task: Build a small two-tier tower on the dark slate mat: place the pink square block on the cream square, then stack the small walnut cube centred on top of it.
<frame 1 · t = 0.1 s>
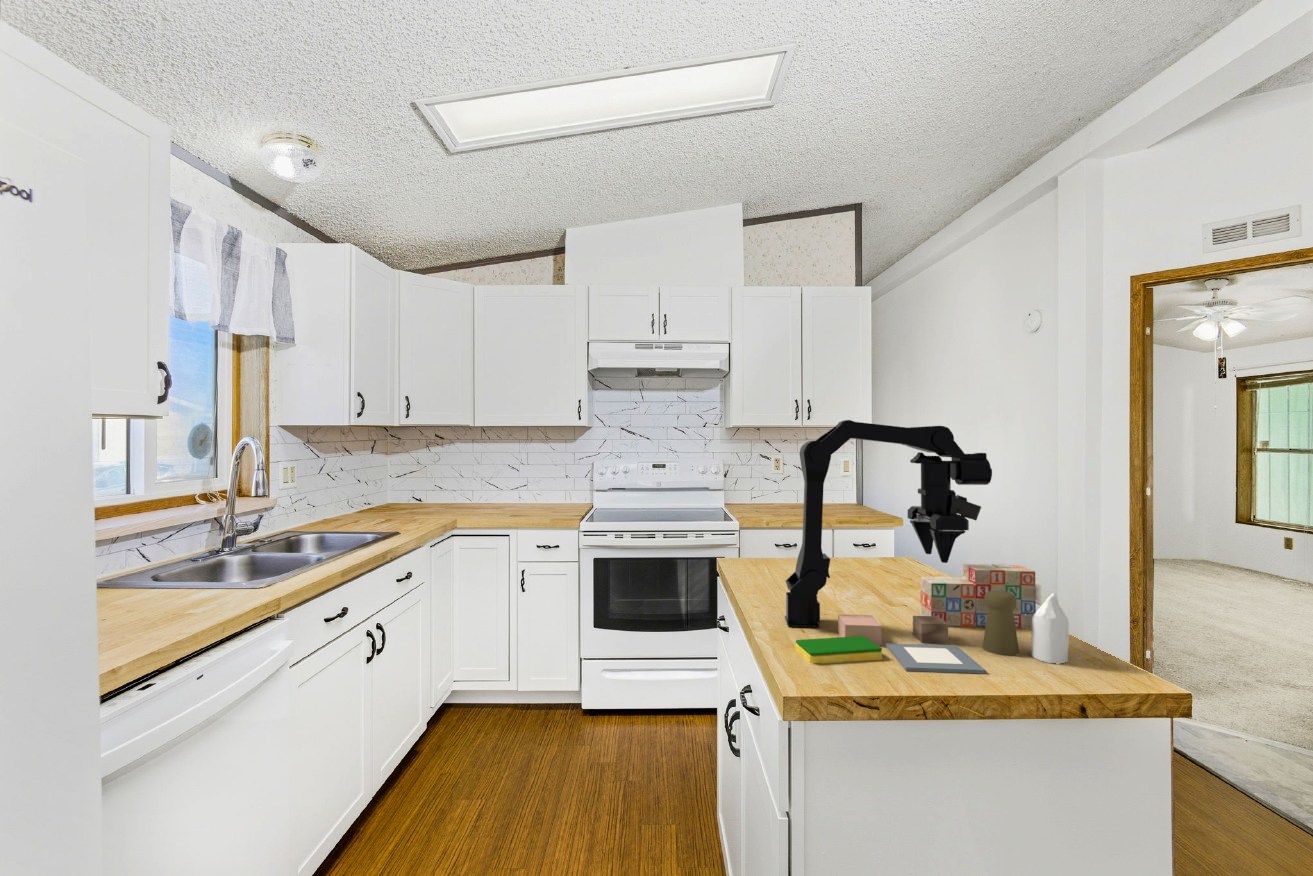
hand: (936, 558, 122), 15 cm above the table, tool pointing down, fingers open, 9 cm apart
stack of blocks: (976, 624, 125), on the table
walnut cube: (930, 639, 114), on the table
pink square block: (859, 640, 115), on the table
dish sponge: (838, 657, 106), on the table
white pointed cylinder: (1050, 659, 104), on the table
cork: (1000, 651, 108), on the table
slate mat: (932, 659, 104), on the table
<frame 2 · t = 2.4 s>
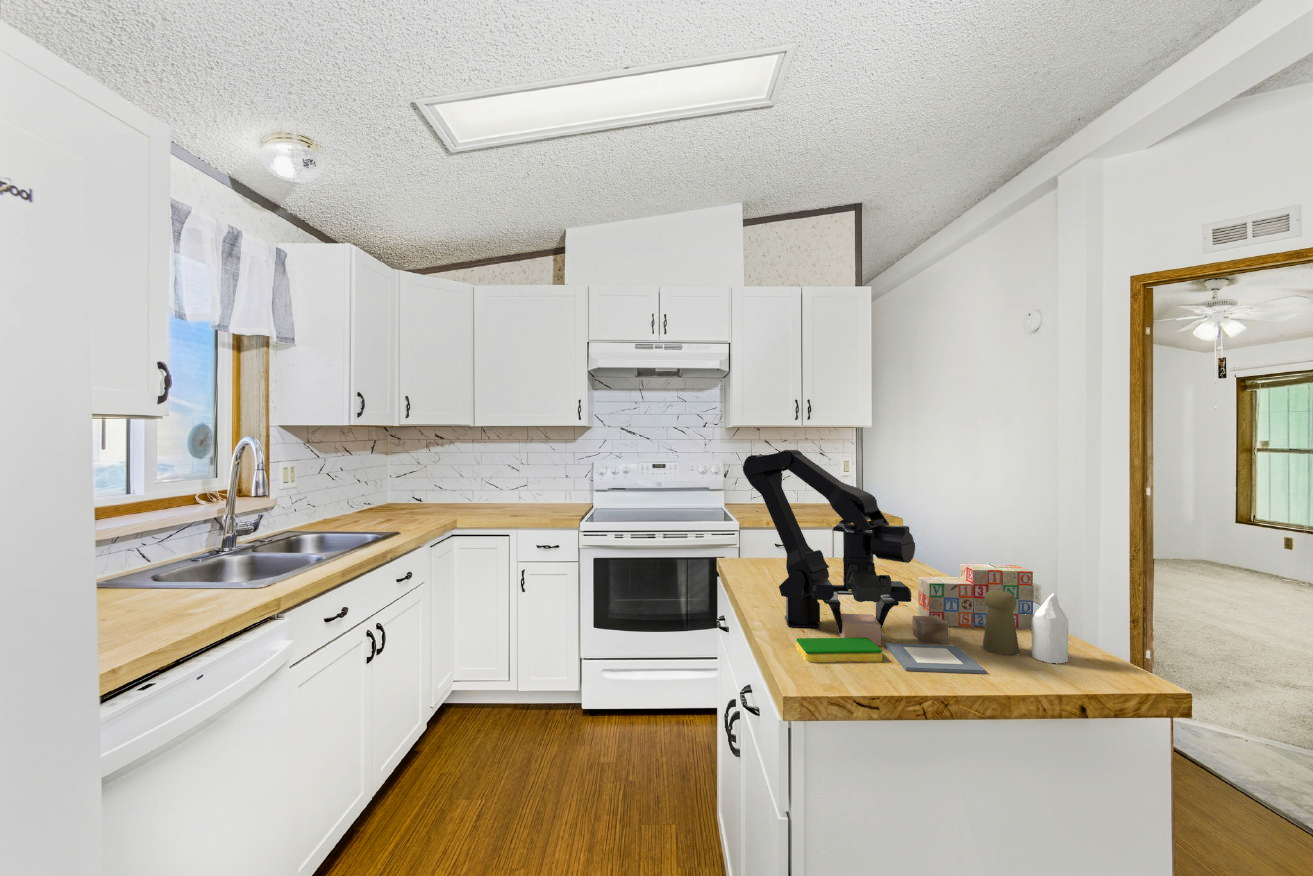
hand: (859, 633, 115), 1 cm above the table, tool pointing down, fingers closed on pink square block, 7 cm apart
pink square block: (859, 639, 115), on the table, touching gripper
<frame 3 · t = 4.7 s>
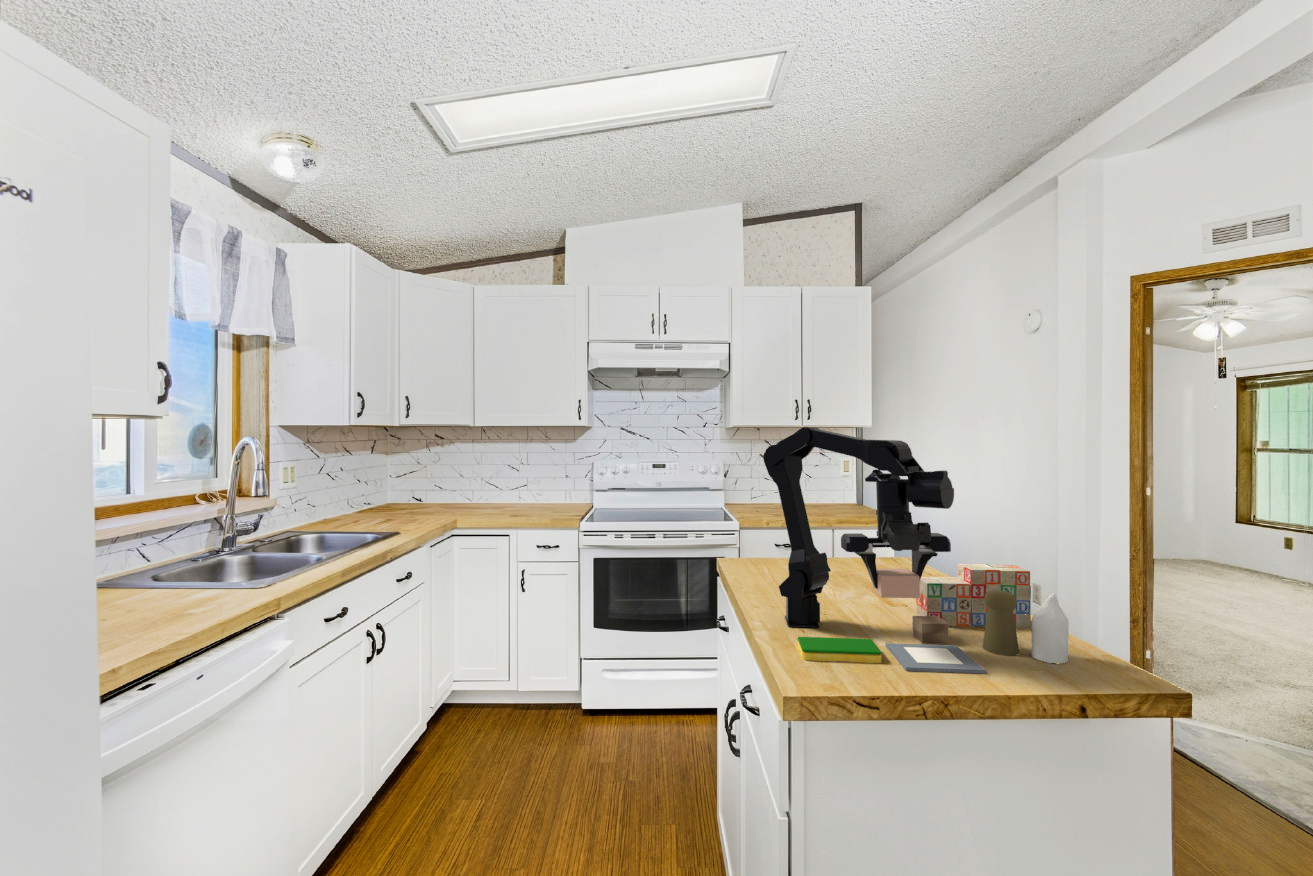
hand: (895, 588, 109), 12 cm above the table, tool pointing down, fingers closed on pink square block, 7 cm apart
pink square block: (895, 593, 109), point 11 cm above the table, touching gripper
when the fingers open (3 cm above the table, at t = 7.1 s): pink square block drops 1 cm, resting on slate mat.
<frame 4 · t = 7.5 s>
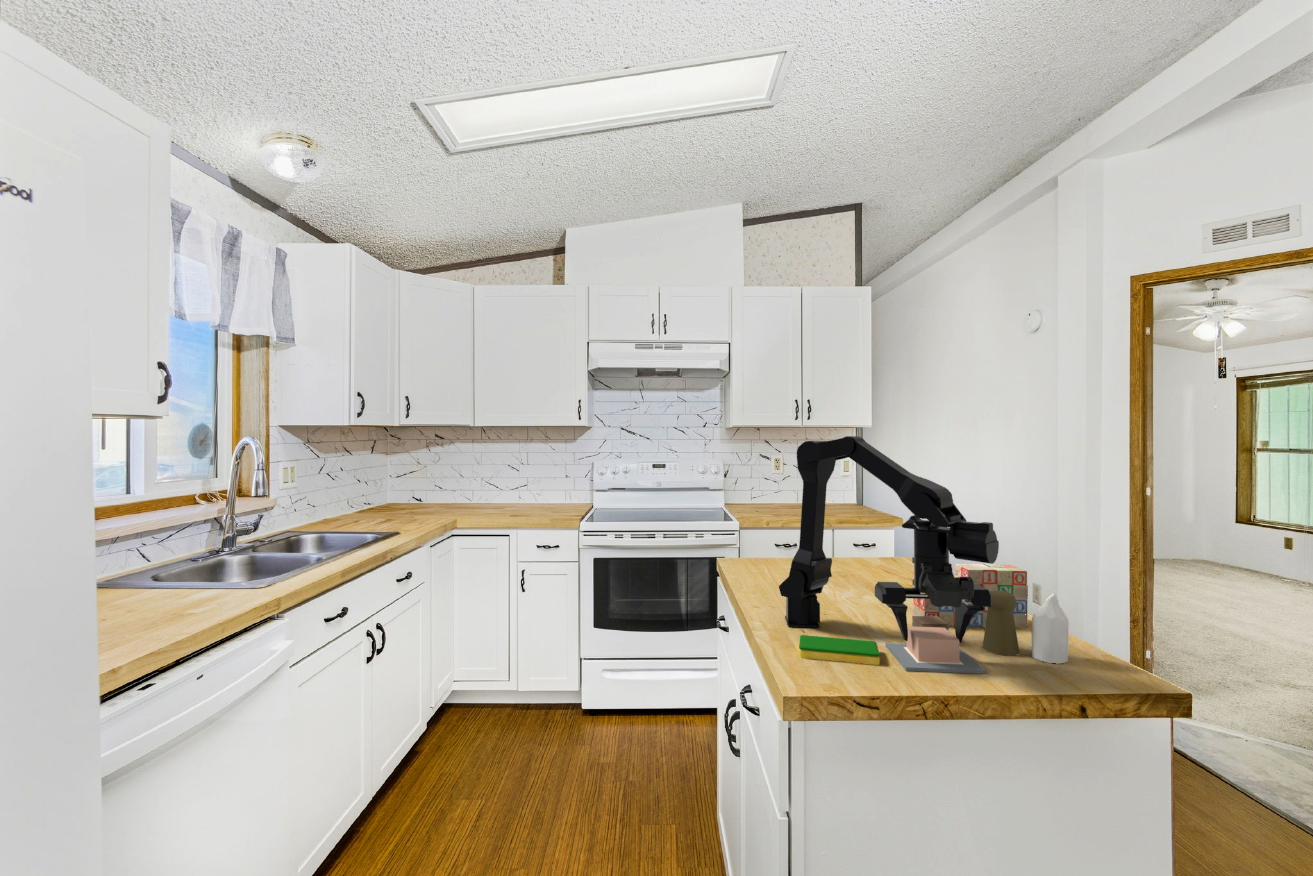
hand: (932, 641, 104), 3 cm above the table, tool pointing down, fingers open, 9 cm apart
pink square block: (932, 655, 104), point 1 cm above the table, touching slate mat
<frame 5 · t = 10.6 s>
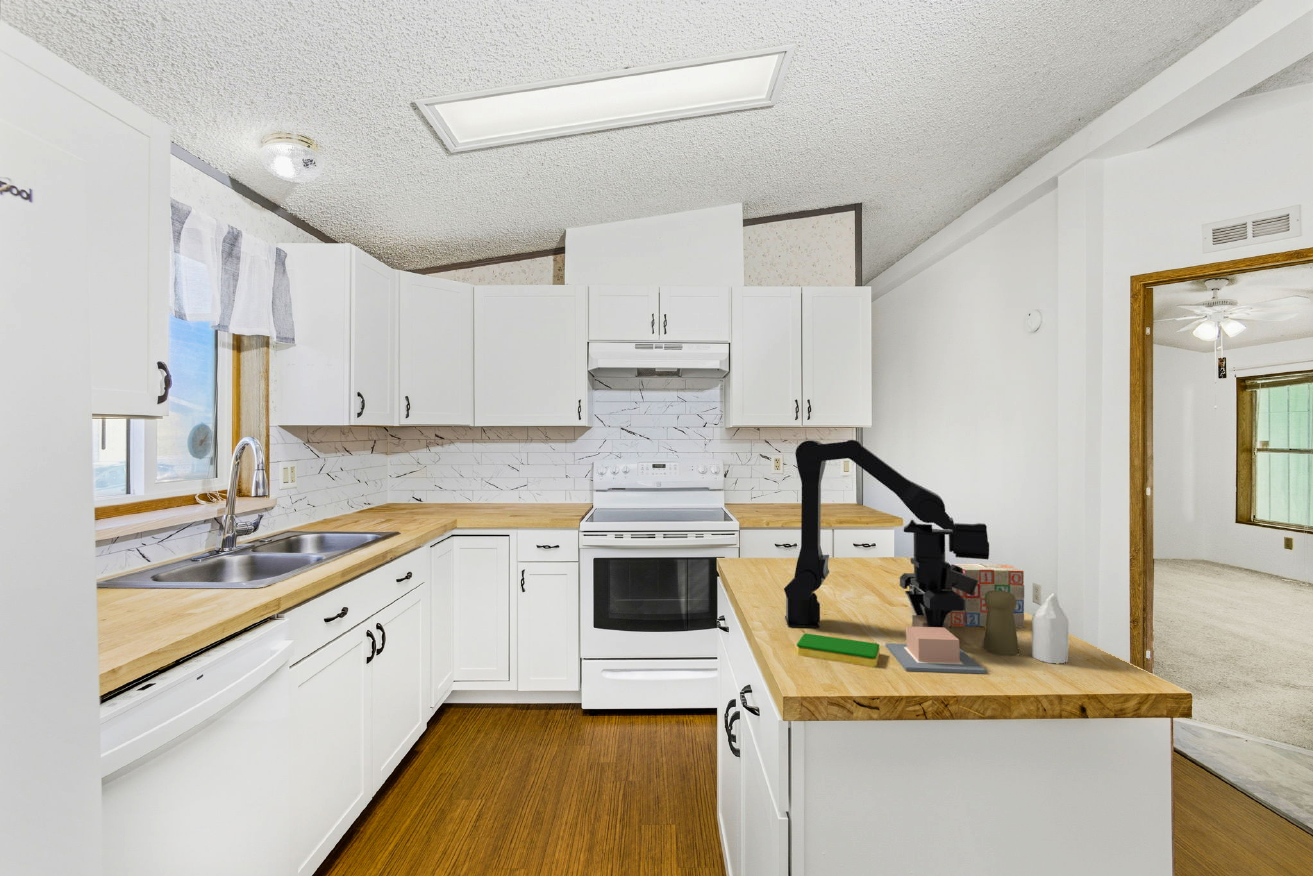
hand: (930, 633, 114), 1 cm above the table, tool pointing down, fingers closed on walnut cube, 5 cm apart
walnut cube: (930, 639, 114), on the table, touching gripper
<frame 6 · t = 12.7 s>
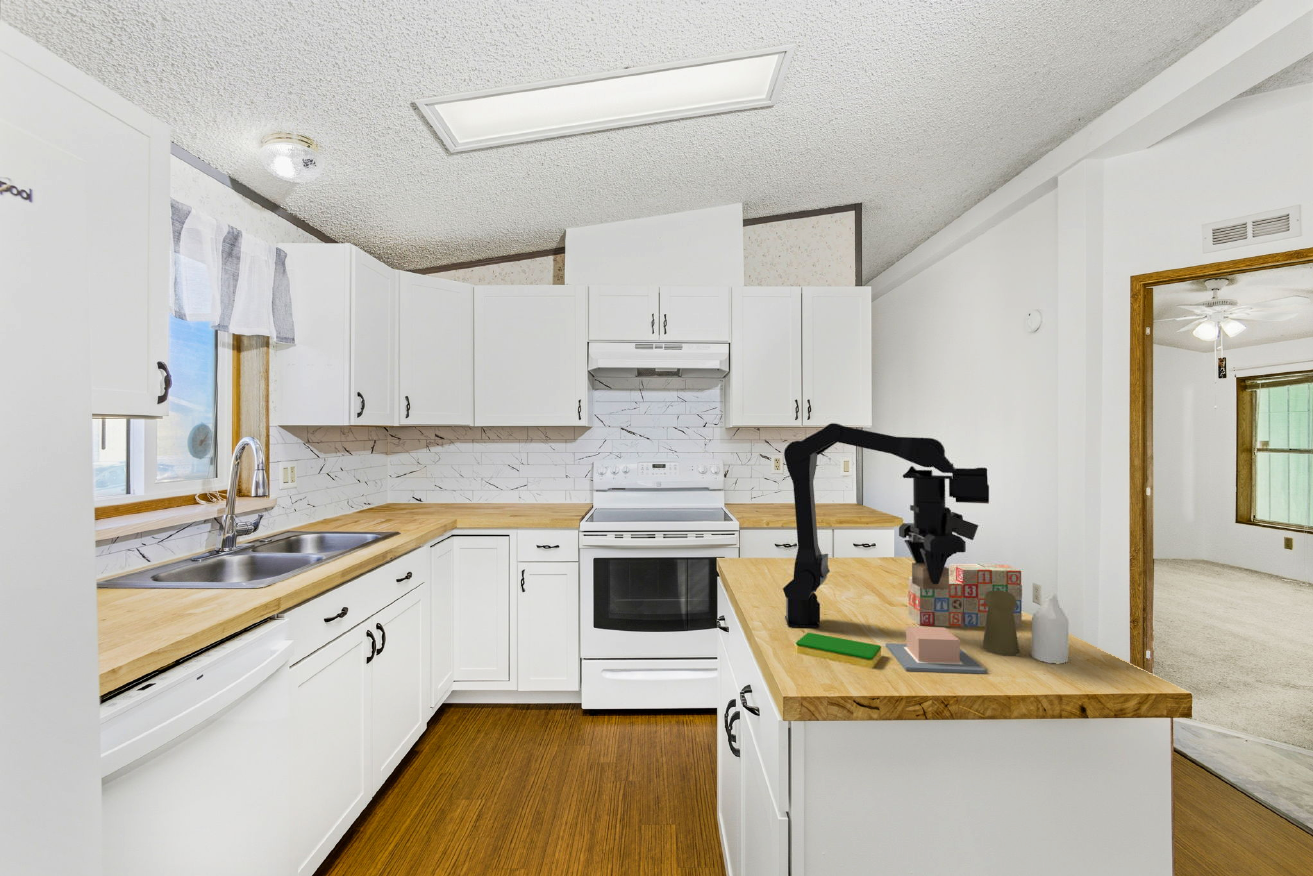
hand: (930, 580, 113), 12 cm above the table, tool pointing down, fingers closed on walnut cube, 5 cm apart
walnut cube: (930, 585, 113), point 11 cm above the table, touching gripper
when the fingers open (7 cm above the table, at t = 15.0 s): walnut cube stays where it is, resting on pink square block.
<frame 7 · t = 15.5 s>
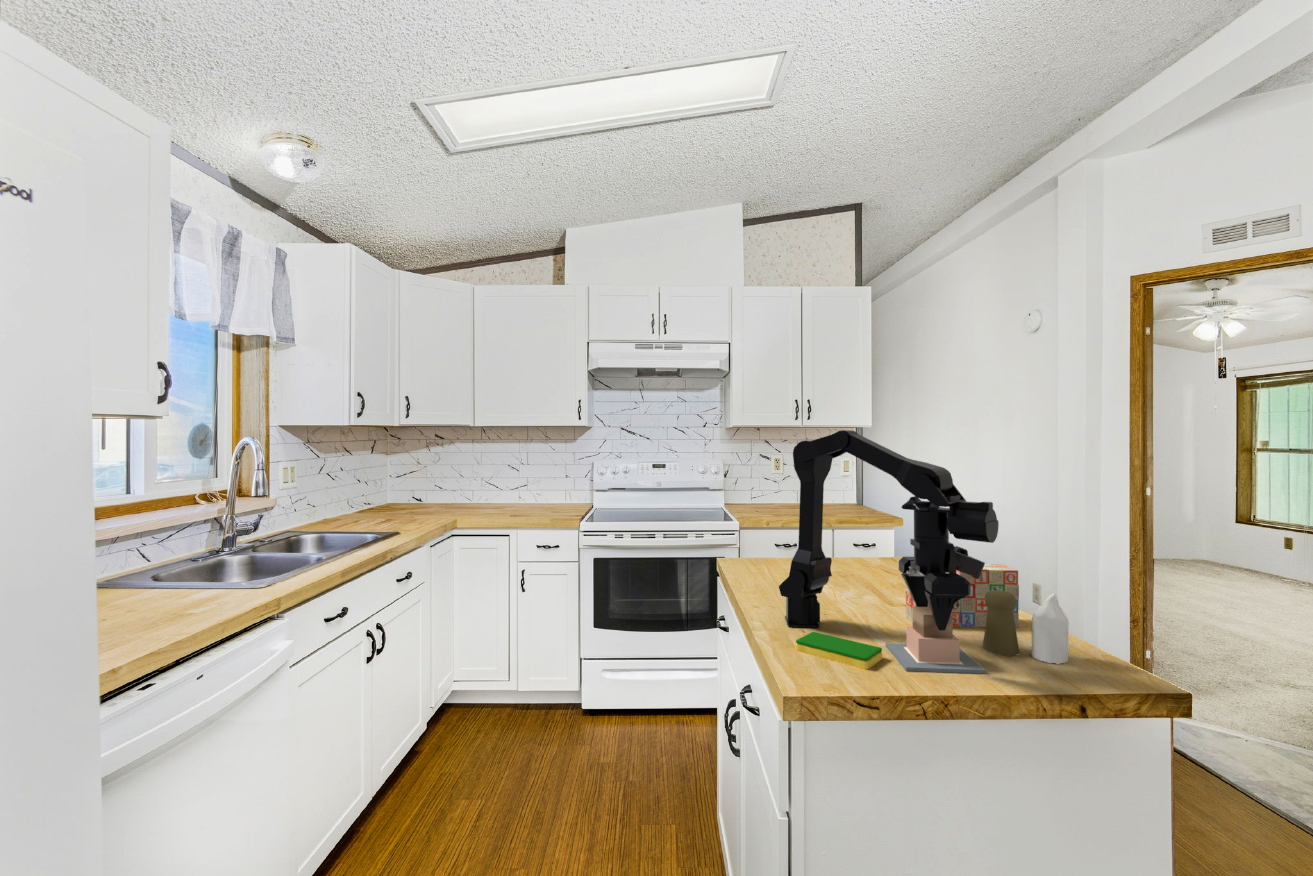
hand: (931, 622, 104), 7 cm above the table, tool pointing down, fingers open, 9 cm apart
walnut cube: (932, 633, 104), point 5 cm above the table, touching pink square block
pink square block: (932, 655, 104), point 1 cm above the table, touching slate mat, walnut cube
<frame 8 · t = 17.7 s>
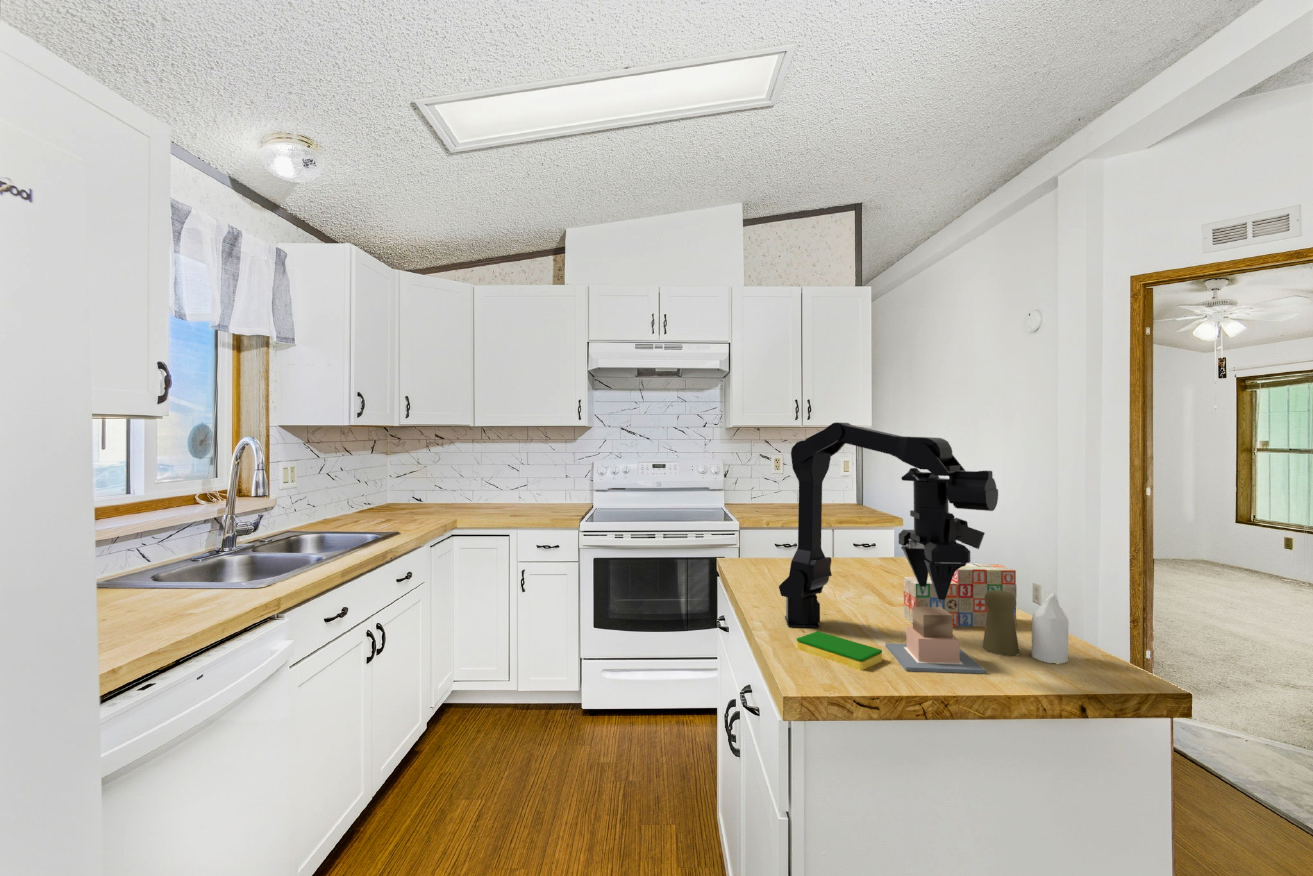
hand: (931, 592, 104), 12 cm above the table, tool pointing down, fingers open, 9 cm apart
at the end: pink square block 0.0 cm off-centre on the slate mat, point 0.7 cm above the slate mat's base; walnut cube 0.1 cm off-centre on the pink square block, point 4.0 cm above the pink square block's base; walnut cube tilted 0° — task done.
